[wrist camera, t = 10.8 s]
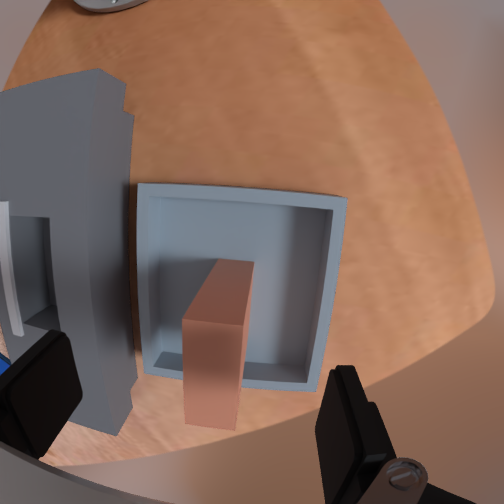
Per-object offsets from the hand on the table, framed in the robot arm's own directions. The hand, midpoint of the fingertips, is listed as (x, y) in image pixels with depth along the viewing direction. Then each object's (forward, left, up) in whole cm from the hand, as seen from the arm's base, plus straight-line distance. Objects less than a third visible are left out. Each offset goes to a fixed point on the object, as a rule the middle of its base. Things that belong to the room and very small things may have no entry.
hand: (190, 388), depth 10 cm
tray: (+1, 0, -14) cm, 14 cm away
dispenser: (0, -13, -14) cm, 19 cm away
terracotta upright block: (+2, 0, -13) cm, 13 cm away
